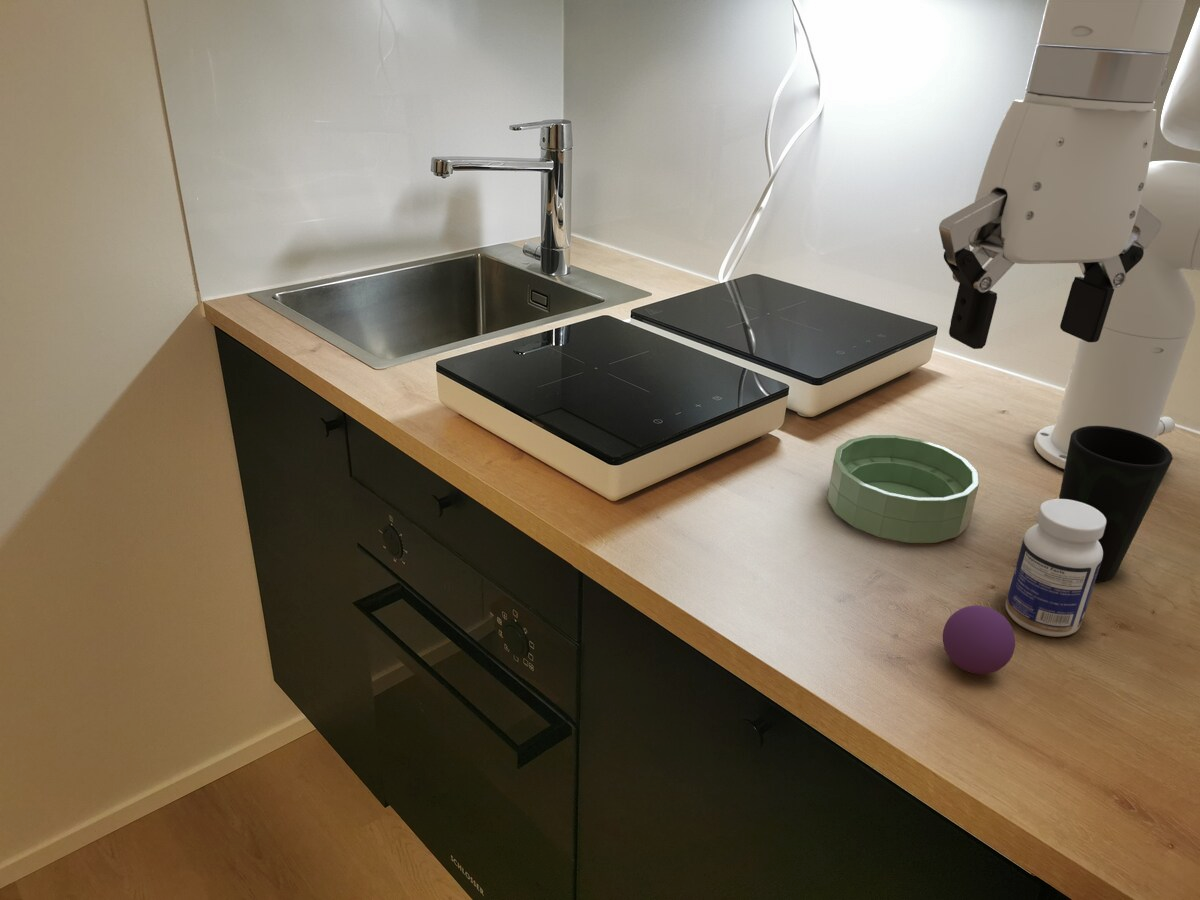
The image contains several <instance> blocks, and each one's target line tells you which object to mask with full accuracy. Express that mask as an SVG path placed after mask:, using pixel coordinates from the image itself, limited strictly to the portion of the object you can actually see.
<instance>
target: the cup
mask: <svg viewBox="0 0 1200 900" xmlns="http://www.w3.org/2000/svg"><path fill="white" fill-rule="evenodd" d="M1173 459H1174V458H1173V454H1172V452H1171V451H1170V450H1169V448H1168V447H1167V446H1165V445H1164V444H1163V443H1162V442H1159V441H1158V440H1156V439H1152V438H1150V437H1148V436H1145V435H1143V434H1140V433H1137V432H1133V431H1130V430H1126V429H1122V428H1116V427H1109V426H1086V427H1081V428H1079V429H1077V430H1074V431H1073V432H1072V434H1071V437H1070V442H1069V448H1068V453H1067V458H1066V464H1065V469H1063V475H1062V479H1061V480H1062V481H1061V485H1060V491H1059V496H1058V499H1068V500H1074V501H1078V502H1082V503H1085V504H1087V505H1090V506H1092V507H1094V508H1095V509H1097V510H1098V511H1100V512H1101V513H1102V514H1103V515H1104V516H1105V518H1106V526H1105V530H1104V534H1103V536H1102V538H1100V539H1099V540H1098V541H1099V543H1100V544H1101V546H1102V549H1103V558H1102V562H1101V565H1100V568H1099V571H1098V574H1097V577H1096V580H1095V583H1104V582H1108V581H1111V580H1112V579H1114V578H1115V577H1116V575H1117V573H1118V570H1119V569H1120V567H1121V564H1122V563H1123V561H1124V558H1125V556H1126V554H1127V552H1128V551H1129V549H1130V546H1131V544H1132V542H1133V540H1134V539H1135V536H1136V534H1137V532H1138V530H1139V529H1140V526H1141V524H1142V522H1143V520H1144V519H1145V517H1146V514H1147V512H1148V510H1149V508H1150V506H1151V504H1152V502H1153V500H1154V498H1155V496H1156V494H1157V492H1158V490H1159V488H1160V486H1161V484H1162V483H1163V479H1164V478H1165V475H1166V474H1167V471H1168V470H1169V467H1171V464H1172V462H1173Z"/></svg>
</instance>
